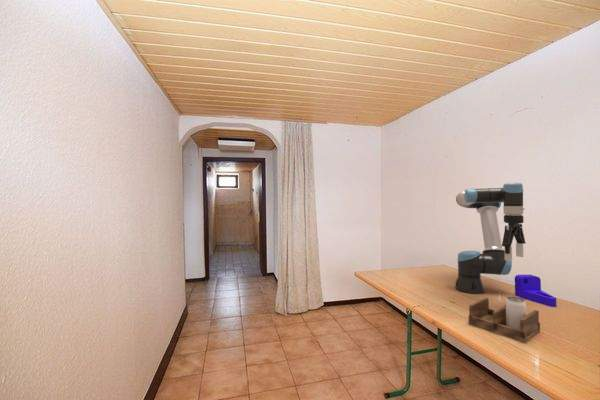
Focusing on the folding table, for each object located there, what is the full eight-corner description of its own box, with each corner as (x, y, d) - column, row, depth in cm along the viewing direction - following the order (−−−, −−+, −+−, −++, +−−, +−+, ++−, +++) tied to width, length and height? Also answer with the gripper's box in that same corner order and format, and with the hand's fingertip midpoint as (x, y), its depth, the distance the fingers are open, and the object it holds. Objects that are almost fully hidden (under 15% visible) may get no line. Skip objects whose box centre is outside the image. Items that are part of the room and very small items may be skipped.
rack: (468, 323, 118) (468, 304, 118) (485, 315, 127) (484, 297, 127) (526, 342, 101) (525, 320, 101) (540, 331, 110) (539, 311, 110)
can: (530, 332, 106) (529, 302, 107) (511, 331, 108) (511, 301, 108) (520, 325, 113) (519, 296, 113) (503, 324, 114) (502, 295, 114)
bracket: (515, 295, 153) (514, 274, 154) (533, 295, 153) (533, 274, 154) (544, 307, 135) (543, 283, 136) (565, 307, 135) (564, 283, 136)
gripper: (512, 216, 121) (513, 263, 121) (532, 213, 134) (533, 256, 134) (493, 215, 127) (493, 260, 127) (514, 213, 141) (515, 253, 141)
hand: (514, 258), depth 131 cm, fingers open, 13 cm apart
